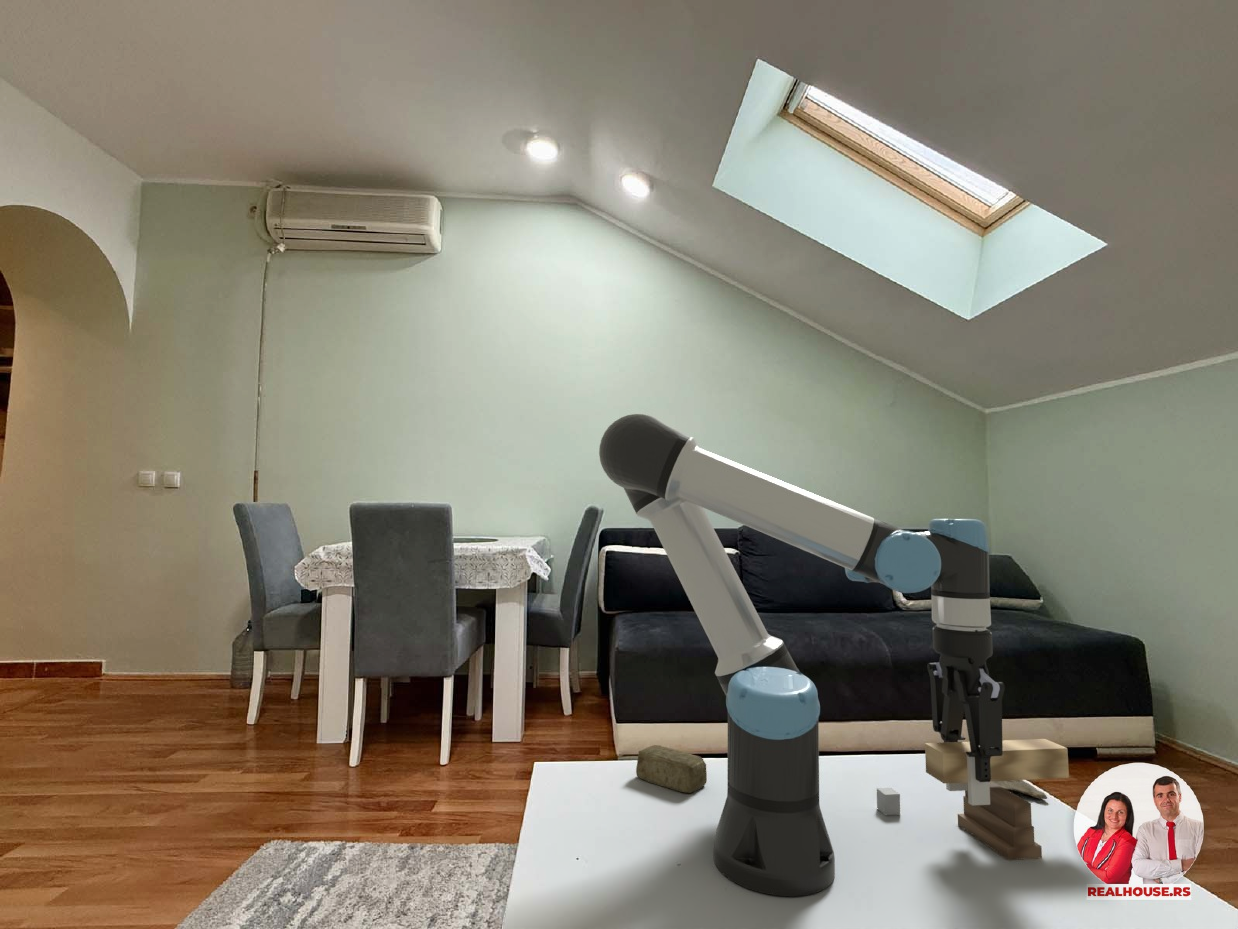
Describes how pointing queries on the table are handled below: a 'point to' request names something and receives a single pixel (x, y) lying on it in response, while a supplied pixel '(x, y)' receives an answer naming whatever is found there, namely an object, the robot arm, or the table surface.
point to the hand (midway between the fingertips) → (967, 796)
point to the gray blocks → (888, 801)
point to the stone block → (671, 768)
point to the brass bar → (1000, 761)
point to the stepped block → (1002, 824)
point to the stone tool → (1021, 788)
